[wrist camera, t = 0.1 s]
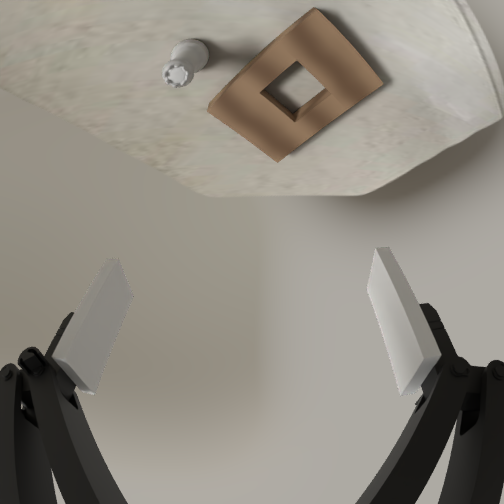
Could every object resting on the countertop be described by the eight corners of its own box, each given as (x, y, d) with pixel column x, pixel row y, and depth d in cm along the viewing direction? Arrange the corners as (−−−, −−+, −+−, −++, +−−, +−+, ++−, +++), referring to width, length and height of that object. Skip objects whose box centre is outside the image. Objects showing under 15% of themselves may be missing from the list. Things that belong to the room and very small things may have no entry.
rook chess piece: (202, 74, 31) (190, 101, 27) (168, 65, 30) (149, 90, 25) (215, 44, 28) (204, 62, 23) (178, 34, 27) (159, 51, 22)
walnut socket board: (313, 7, 24) (317, 9, 22) (377, 76, 30) (383, 84, 29) (209, 102, 34) (206, 111, 33) (276, 152, 41) (277, 162, 39)
